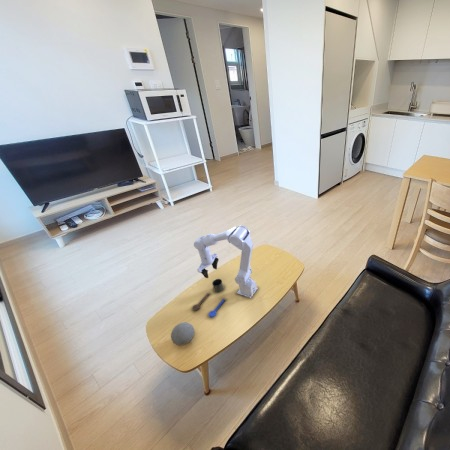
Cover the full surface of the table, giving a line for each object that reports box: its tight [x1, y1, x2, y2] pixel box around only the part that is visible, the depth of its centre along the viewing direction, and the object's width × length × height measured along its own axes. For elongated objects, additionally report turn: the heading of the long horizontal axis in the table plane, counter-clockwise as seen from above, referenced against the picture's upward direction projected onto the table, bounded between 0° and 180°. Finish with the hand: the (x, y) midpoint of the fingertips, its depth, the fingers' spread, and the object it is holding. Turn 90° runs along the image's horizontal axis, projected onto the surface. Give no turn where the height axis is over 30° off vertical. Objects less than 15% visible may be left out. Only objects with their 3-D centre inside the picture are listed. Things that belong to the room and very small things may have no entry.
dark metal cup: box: [211, 278, 225, 293], centre depth 140 cm, size 6×6×6 cm
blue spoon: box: [208, 298, 226, 318], centre depth 130 cm, size 12×4×1 cm, turn 158°
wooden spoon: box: [192, 293, 210, 312], centre depth 133 cm, size 12×4×1 cm, turn 158°
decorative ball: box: [170, 321, 195, 346], centre depth 113 cm, size 10×10×10 cm
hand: (211, 272), depth 140 cm, fingers open, 7 cm apart
